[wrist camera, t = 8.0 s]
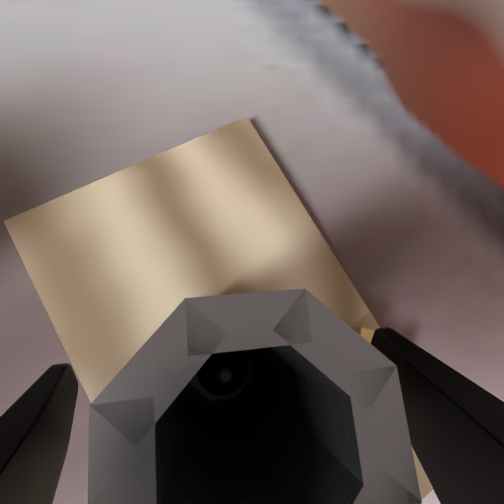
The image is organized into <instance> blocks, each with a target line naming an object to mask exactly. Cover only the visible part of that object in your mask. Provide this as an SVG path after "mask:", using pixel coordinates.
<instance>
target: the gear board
mask: <svg viewBox="0 0 504 504" xmlns="http://www.w3.org/2000/svg"><path fill="white" fill-rule="evenodd" d="M4 223H5V226H6V228H7V230H8V232H9V234H10V236H11V238H12V240H13V242H14V244H15V246H16V248H17V250H18V253H19V255H20V257H21V259H22V261H23V263H24V265H25V267H26V269H27V271H28V273H29V275H30V277H31V280H32V282H33V284H34V286H35V288H36V290H37V292H38V294H39V296H40V298H41V300H42V302H43V304H44V307H45V309H46V311H47V313H48V315H49V317H50V319H51V321H52V323H53V325H54V327H55V329H56V331H57V334H58V336H59V338H60V340H61V342H62V344H63V346H64V348H65V350H66V352H67V354H68V356H69V358H70V361H71V363H72V365H73V367H74V369H75V371H76V373H77V375H78V377H79V379H80V381H81V383H82V385H83V388H84V390H85V392H86V394H87V396H88V398H89V400H90V402H91V403H92V402H93V400H94V399H95V398H96V397H97V396H98V395H99V394H100V393H101V392H102V390H103V389H104V388H105V387H106V386H107V385H108V384H109V383H110V381H111V380H112V379H113V378H114V377H115V376H116V375H117V374H118V373H119V371H120V370H121V369H122V368H123V367H124V366H125V365H126V364H127V362H128V361H129V360H130V359H131V358H132V357H133V356H134V355H135V354H136V352H137V351H138V350H139V349H140V348H141V347H142V346H143V345H144V343H145V342H146V341H147V340H148V339H149V338H150V337H151V336H152V335H153V333H154V332H155V331H156V330H157V329H158V328H159V327H160V326H161V324H162V323H163V322H164V321H165V320H166V319H167V318H168V317H169V316H170V314H171V313H172V312H173V311H174V310H175V309H176V308H177V307H178V305H179V304H180V303H181V302H182V301H183V300H184V299H185V298H192V297H204V296H216V295H229V294H241V293H253V292H266V291H278V290H291V289H303V288H305V289H306V290H307V291H309V292H310V293H311V294H312V295H313V296H315V297H316V298H317V299H318V300H319V301H320V302H322V303H323V304H324V305H325V306H326V307H328V308H329V309H330V310H331V311H332V312H334V313H335V314H336V315H337V316H338V317H339V318H341V319H342V320H343V321H344V322H345V323H347V324H348V325H349V326H350V327H351V328H352V327H363V328H367V329H370V330H374V331H375V330H376V329H377V328H380V326H379V325H378V323H377V322H376V320H375V319H374V317H373V315H372V314H371V312H370V311H369V309H368V307H367V306H366V304H365V303H364V301H363V299H362V298H361V296H360V295H359V293H358V292H357V290H356V288H355V287H354V285H353V284H352V282H351V280H350V279H349V277H348V276H347V274H346V273H345V271H344V269H343V268H342V266H341V265H340V263H339V261H338V260H337V258H336V257H335V255H334V253H333V252H332V250H331V249H330V247H329V246H328V244H327V242H326V241H325V239H324V238H323V236H322V234H321V233H320V231H319V230H318V228H317V227H316V225H315V223H314V222H313V220H312V219H311V217H310V215H309V214H308V212H307V211H306V209H305V207H304V206H303V204H302V203H301V201H300V200H299V198H298V196H297V195H296V193H295V192H294V190H293V188H292V187H291V185H290V184H289V182H288V181H287V179H286V177H285V176H284V174H283V173H282V171H281V169H280V168H279V166H278V165H277V163H276V161H275V160H274V158H273V157H272V155H271V154H270V152H269V150H268V149H267V147H266V146H265V144H264V142H263V141H262V139H261V138H260V136H259V134H258V133H257V131H256V130H255V128H254V127H253V125H252V123H251V122H250V120H249V119H248V117H245V118H242V119H240V120H238V121H235V122H233V123H231V124H228V125H226V126H224V127H221V128H219V129H217V130H214V131H212V132H210V133H207V134H205V135H203V136H200V137H198V138H196V139H193V140H191V141H189V142H186V143H184V144H182V145H179V146H177V147H175V148H172V149H170V150H168V151H165V152H163V153H161V154H158V155H156V156H154V157H151V158H149V159H147V160H144V161H142V162H140V163H137V164H135V165H133V166H130V167H128V168H126V169H123V170H121V171H119V172H116V173H114V174H112V175H109V176H107V177H105V178H102V179H100V180H98V181H95V182H93V183H91V184H88V185H86V186H84V187H81V188H79V189H77V190H74V191H72V192H70V193H67V194H65V195H63V196H60V197H58V198H56V199H53V200H51V201H49V202H46V203H44V204H42V205H39V206H37V207H35V208H32V209H30V210H28V211H26V212H23V213H21V214H19V215H16V216H14V217H12V218H9V219H7V220H5V221H4ZM242 352H243V353H244V355H245V357H246V359H247V364H248V372H247V376H246V379H245V381H244V383H243V384H242V386H241V387H240V388H239V389H238V390H237V391H235V392H234V393H232V394H229V395H225V396H218V395H214V394H211V393H209V392H208V391H206V390H205V389H204V388H203V387H202V386H201V384H200V382H199V380H198V377H197V373H196V374H195V375H194V376H193V378H192V379H191V384H192V385H193V386H194V387H195V388H196V389H198V390H199V391H200V392H201V393H202V394H203V395H204V396H206V397H207V398H208V399H209V400H210V401H214V400H222V399H229V398H237V396H238V395H239V394H240V392H241V391H242V390H243V388H244V387H245V386H246V384H247V383H248V382H249V380H250V379H251V378H252V376H253V375H252V364H251V352H250V349H249V350H242ZM412 452H413V457H414V463H415V468H416V473H417V479H418V484H419V490H420V495H421V500H422V499H423V498H424V497H425V496H426V495H427V494H428V493H429V492H430V491H432V490H433V487H432V485H431V483H430V481H429V479H428V477H427V475H426V473H425V471H424V470H423V468H422V466H421V464H420V462H419V460H418V458H417V456H416V454H415V452H414V450H413V448H412Z"/></svg>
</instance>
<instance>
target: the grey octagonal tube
mask: <svg viewBox="0 0 504 504" xmlns="http://www.w3.org/2000/svg"><path fill="white" fill-rule="evenodd" d="M249 349H250V352H251V364H252V375H253V376H252V378H251V379H250V380H249V382H248V383H247V384H246V386H245V387H244V388H243V390H242V391H241V392H240V394H239V395H238V396H237V398H229V399H222V400H214V401H210V400H209V399H208V398H207V397H206V396H204V395H203V394H202V393H201V392H200V391H199V390H198V389H196V388H195V387H194V386H193V385H192V384H191V379H192V378H193V376H194V375H195V374H196V373H197V371H198V370H199V369H200V368H201V367H202V365H203V364H204V363H205V362H206V360H207V359H208V358H209V357H210V356H211V354H213V353H222V352H231V351H240V350H249ZM421 503H422V501H421V495H420V490H419V484H418V479H417V473H416V468H415V463H414V457H413V452H412V446H411V441H410V435H409V430H408V425H407V419H406V414H405V408H404V403H403V397H402V392H401V387H400V381H399V376H398V370H397V366H396V365H395V364H394V363H393V362H392V361H390V360H389V359H388V358H387V357H386V356H385V355H383V354H382V353H381V352H380V351H379V350H377V349H376V348H375V347H374V346H373V345H371V344H370V343H369V342H368V341H367V340H366V339H364V338H363V337H362V336H361V335H360V334H358V333H357V332H356V331H355V330H354V329H353V328H351V327H350V326H349V325H348V324H347V323H345V322H344V321H343V320H342V319H341V318H339V317H338V316H337V315H336V314H335V313H334V312H332V311H331V310H330V309H329V308H328V307H326V306H325V305H324V304H323V303H322V302H320V301H319V300H318V299H317V298H316V297H315V296H313V295H312V294H311V293H310V292H309V291H307V290H306V289H305V288H303V289H291V290H278V291H266V292H253V293H241V294H229V295H216V296H204V297H192V298H185V299H184V300H183V301H182V302H181V303H180V304H179V305H178V307H177V308H176V309H175V310H174V311H173V312H172V313H171V314H170V316H169V317H168V318H167V319H166V320H165V321H164V322H163V323H162V324H161V326H160V327H159V328H158V329H157V330H156V331H155V332H154V333H153V335H152V336H151V337H150V338H149V339H148V340H147V341H146V342H145V343H144V345H143V346H142V347H141V348H140V349H139V350H138V351H137V352H136V354H135V355H134V356H133V357H132V358H131V359H130V360H129V361H128V362H127V364H126V365H125V366H124V367H123V368H122V369H121V370H120V371H119V373H118V374H117V375H116V376H115V377H114V378H113V379H112V380H111V381H110V383H109V384H108V385H107V386H106V387H105V388H104V389H103V390H102V392H101V393H100V394H99V395H98V396H97V397H96V398H95V399H94V400H93V402H92V403H91V404H90V405H89V469H88V504H421Z"/></svg>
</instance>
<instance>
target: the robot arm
mask: <svg viewBox="0 0 504 504" xmlns="http://www.w3.org/2000/svg"><path fill="white" fill-rule="evenodd" d="M370 344H371V345H373V346H374V347H375V348H376V349H377V350H379V351H380V352H381V353H382V354H383V355H385V356H386V357H387V358H388V359H389V360H390V361H392V362H393V363H394V364H395V365H396V366H397V370H398V376H399V381H400V387H401V392H402V397H403V403H404V408H405V414H406V419H407V425H408V430H409V435H410V441H411V446H412V448H413V450H414V452H415V454H416V456H417V458H418V460H419V462H420V464H421V466H422V468H423V470H424V471H425V473H426V475H427V477H428V479H429V481H430V483H431V485H432V487H433V489H434V491H435V493H436V495H437V497H438V499H439V501H440V503H441V504H504V402H503V401H501V400H500V399H498V398H497V397H495V396H494V395H492V394H491V393H489V392H487V391H486V390H484V389H483V388H481V387H480V386H478V385H477V384H475V383H474V382H472V381H471V380H469V379H468V378H466V377H465V376H463V375H461V374H460V373H458V372H457V371H455V370H454V369H452V368H451V367H449V366H448V365H446V364H445V363H443V362H442V361H440V360H438V359H437V358H435V357H434V356H432V355H431V354H429V353H428V352H426V351H425V350H423V349H422V348H420V347H419V346H417V345H415V344H414V343H412V342H411V341H409V340H408V339H406V338H405V337H403V336H402V335H400V334H399V333H397V332H396V331H394V330H392V329H391V328H388V327H384V328H377V329H376V330H375V331H374V334H373V337H372V340H371V343H370ZM77 393H78V381H77V379H76V376H75V374H74V371H73V369H72V366H71V365H70V364H69V363H63V364H55V365H52V366H51V367H50V368H49V369H48V370H47V371H46V372H45V373H44V374H43V375H42V376H41V377H40V378H39V379H38V380H37V381H36V382H35V383H34V384H33V385H32V386H31V387H30V388H29V389H28V390H27V391H26V392H25V393H24V394H23V395H22V396H21V397H20V398H19V399H18V400H17V401H16V402H15V403H14V404H13V405H12V406H11V407H10V408H9V409H8V410H7V411H6V412H5V413H4V414H3V415H2V416H1V417H0V504H52V502H53V499H54V496H55V492H56V489H57V485H58V482H59V478H60V475H61V471H62V468H63V464H64V461H65V457H66V453H67V449H68V445H69V440H70V434H71V428H72V422H73V417H74V411H75V405H76V399H77Z"/></svg>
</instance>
